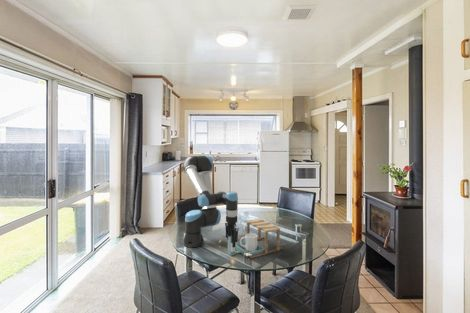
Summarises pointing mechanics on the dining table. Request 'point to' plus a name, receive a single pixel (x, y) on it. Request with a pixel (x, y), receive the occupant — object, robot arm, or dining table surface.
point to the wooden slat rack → (266, 228)
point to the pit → (275, 242)
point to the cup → (250, 242)
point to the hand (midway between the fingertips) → (231, 250)
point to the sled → (240, 250)
